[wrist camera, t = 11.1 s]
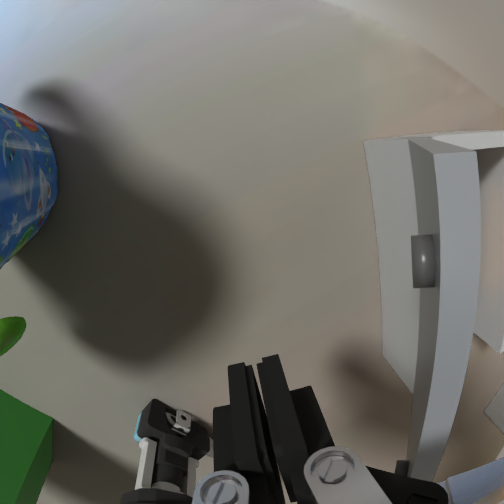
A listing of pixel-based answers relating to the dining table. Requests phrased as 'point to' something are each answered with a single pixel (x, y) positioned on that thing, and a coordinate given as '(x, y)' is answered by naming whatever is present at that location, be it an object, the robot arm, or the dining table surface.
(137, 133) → the dining table surface
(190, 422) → the push button
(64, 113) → the dining table surface
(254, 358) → the dining table surface
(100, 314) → the dining table surface
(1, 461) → the hardback book
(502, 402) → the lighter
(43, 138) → the snack cup
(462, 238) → the cover
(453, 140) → the open box
